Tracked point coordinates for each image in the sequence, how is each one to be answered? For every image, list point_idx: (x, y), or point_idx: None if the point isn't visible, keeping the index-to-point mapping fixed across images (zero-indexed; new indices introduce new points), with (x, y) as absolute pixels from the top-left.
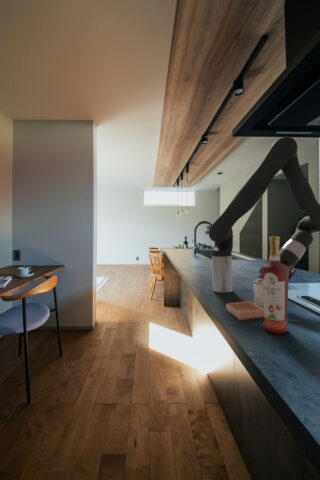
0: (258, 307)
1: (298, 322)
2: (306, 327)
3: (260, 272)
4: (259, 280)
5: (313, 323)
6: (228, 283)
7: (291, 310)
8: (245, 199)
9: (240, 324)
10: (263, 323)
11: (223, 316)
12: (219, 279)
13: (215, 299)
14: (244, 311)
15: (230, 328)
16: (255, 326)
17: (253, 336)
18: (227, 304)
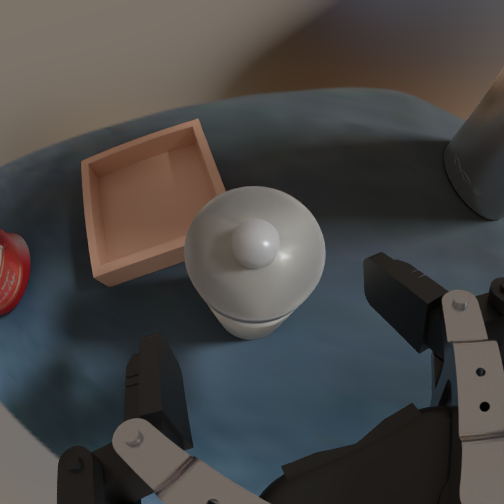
0: (135, 254)
1: (60, 402)
2: (26, 401)
3: (486, 299)
4: (233, 235)
5: (58, 452)
6: (484, 169)
7: (203, 454)
8: None
9: (66, 176)
10: (13, 234)
11: (139, 129)
12: (476, 115)
13: (349, 121)
14: (163, 201)
15: (52, 148)
16: (43, 221)
17: (2, 202)
18: (187, 123)
